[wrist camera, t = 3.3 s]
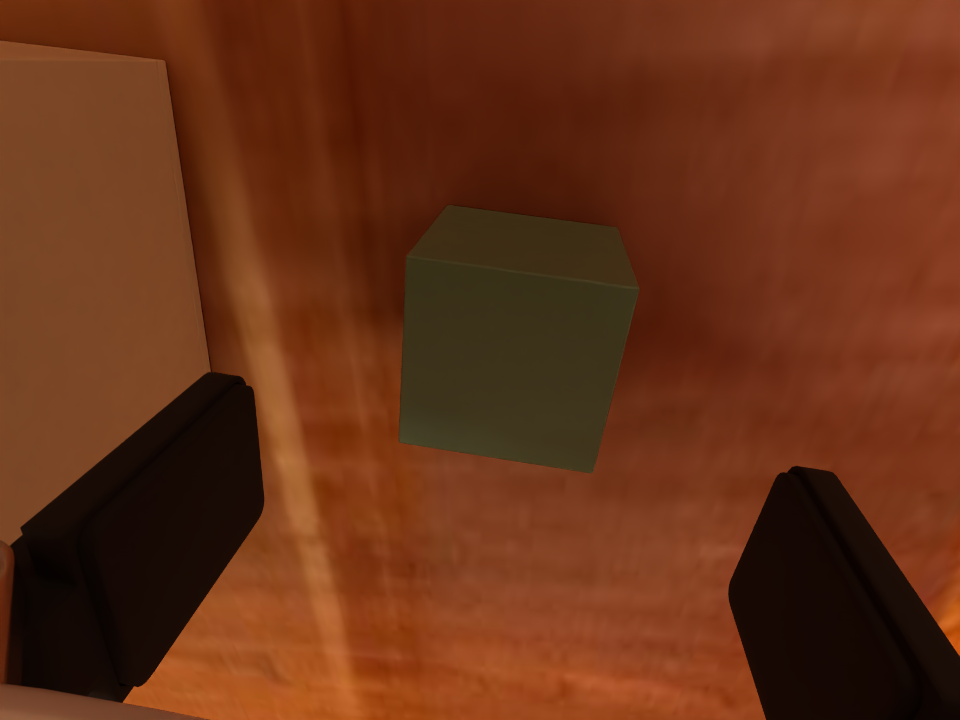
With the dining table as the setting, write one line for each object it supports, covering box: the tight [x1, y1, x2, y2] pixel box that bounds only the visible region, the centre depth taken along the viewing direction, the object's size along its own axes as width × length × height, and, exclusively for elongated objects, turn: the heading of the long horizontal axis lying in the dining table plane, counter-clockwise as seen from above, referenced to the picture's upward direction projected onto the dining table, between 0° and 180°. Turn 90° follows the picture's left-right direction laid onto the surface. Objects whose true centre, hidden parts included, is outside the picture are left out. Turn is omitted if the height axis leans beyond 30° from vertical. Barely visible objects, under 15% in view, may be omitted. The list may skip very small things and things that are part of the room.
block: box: [399, 205, 639, 473], centre depth 15 cm, size 5×5×5 cm
